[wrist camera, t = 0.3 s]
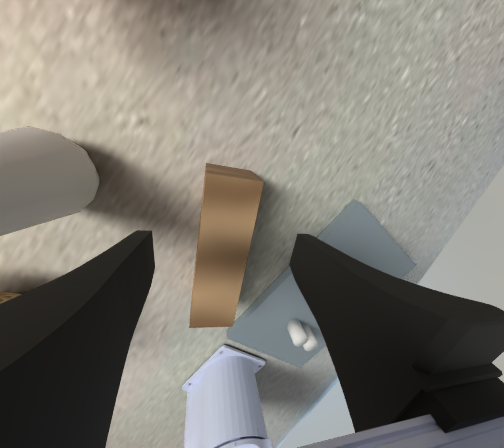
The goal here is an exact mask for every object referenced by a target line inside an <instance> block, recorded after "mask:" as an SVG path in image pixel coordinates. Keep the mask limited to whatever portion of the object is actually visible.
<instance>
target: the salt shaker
mask: <svg viewBox="0 0 504 448" xmlns="http://www.w3.org/2000/svg"><path fill="white" fill-rule="evenodd" d="M98 186H99V175H98V173H97V171H96V169H95V165H94V164H93V162H92V161H91V159H90V157H89V155H88V153H87V152H86V151H85V150H84V149H83V148H81V147H80V146H78V145H77V144H75V143H74V142H72V141H70V140H69V139H67V138H65V137H64V136H62V135H61V134H58V133H54V132H50V131H46V130H42V129H38V128H34V127H30V126H28V127H23V128H17V129H12V130H7V131H3V132H0V236H2V235H5V234H8V233H12V232H15V231H18V230H22V229H25V228H28V227H31V226H35V225H38V224H41V223H45V222H48V221H51V220H55V219H58V218H61V217H64V216H68V215H71V214H74V213H78V212H80V211H81V210H82V209H84V208H85V207H86V206H87V205H88V204H89V203H90V202H91V201H92V200H93V199H94V198H95V195H96V192H97V189H98Z"/></svg>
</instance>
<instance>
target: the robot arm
mask: <svg viewBox="0 0 504 448" xmlns="http://www.w3.org/2000/svg"><path fill="white" fill-rule="evenodd" d="M289 265H290V268H291V271H292V274H293V277H294V279H295V282H296V284H297V286H298V288H299V289H300V291H301V293H302V295H303V297H304V299H305V301H306V303H307V304H308V306H309V308H310V310H311V312H312V314H313V316H314V318H315V320H316V322H317V324H318V326H319V328H320V331H321V333H322V336H323V338H324V340H325V343H326V345H327V348H328V351H329V353H330V356H331V359H332V361H333V364H334V367H335V370H336V372H337V375H338V378H339V381H340V384H341V387H342V390H343V393H344V396H345V399H346V403H347V406H348V409H349V412H350V416H351V419H352V423H353V426H354V429H355V433H353V434H349V435H345V436H341V437H337V438H333V439H329V440H325V441H322V442H317V443H314V444H310V445H306V446H302V447H298V448H504V383H503V382H502V381H501V380H500V379H499V378H498V377H500V376H501V375H502V371H500V370H499V369H498V368H497V367H496V366H495V365H494V364H492V362H493V361H494V360H495V359H496V358H497V357H498V356H499V355H500V354H501V353H502V352H504V311H503V310H501V309H499V308H497V307H495V306H492V305H489V304H485V303H481V302H477V301H473V300H469V299H465V298H461V297H457V296H453V295H449V294H446V293H442V292H439V291H436V290H432V289H429V288H426V287H423V286H420V285H416V284H414V283H411V282H408V281H405V280H402V279H400V278H397V277H394V276H392V275H389V274H387V273H385V272H382V271H380V270H378V269H375V268H373V267H371V266H369V265H366V264H364V263H362V262H360V261H358V260H356V259H354V258H352V257H350V256H349V255H347V254H345V253H343V252H341V251H339V250H338V249H336V248H334V247H332V246H330V245H329V244H327V243H325V242H323V241H321V240H319V239H318V238H316V237H314V236H311V235H309V234H297V238H296V242H295V246H294V249H293V253H292V257H291V260H290V264H289ZM154 269H155V261H154V250H153V238H152V231H139V230H137V231H135V232H134V233H132V234H130V235H129V236H127V237H126V238H124V239H123V240H122V241H120V242H119V243H117V244H116V245H114V246H112V247H111V248H109V249H108V250H106V251H105V252H103V253H102V254H100V255H98V256H97V257H95V258H93V259H92V260H90V261H88V262H86V263H85V264H83V265H81V266H80V267H78V268H76V269H74V270H72V271H71V272H69V273H67V274H65V275H63V276H61V277H59V278H57V279H55V280H53V281H51V282H49V283H47V284H44V285H42V286H40V287H38V288H36V289H33V290H31V291H29V292H26V293H24V294H22V295H19V296H17V297H15V298H12V299H10V300H8V301H5V302H3V303H1V304H0V448H105V446H106V441H107V437H108V432H109V428H110V424H111V419H112V415H113V410H114V406H115V402H116V397H117V393H118V389H119V385H120V381H121V377H122V373H123V369H124V365H125V361H126V357H127V354H128V350H129V346H130V342H131V339H132V336H133V333H134V330H135V328H136V325H137V322H138V320H139V317H140V314H141V312H142V309H143V306H144V304H145V301H146V298H147V295H148V293H149V290H150V287H151V283H152V279H153V274H154ZM265 364H266V363H265V360H263V359H261V358H258V357H255V356H253V355H250V354H248V353H245V352H242V351H240V350H237V349H235V348H232V347H229V346H227V345H222V346H221V347H220V348H219V349H218V350H217V351H216V352H215V353H214V354H213V355H212V356H211V357H210V358H209V359H208V360H207V361H206V362H205V363H204V364H203V365H202V366H201V367H200V368H199V369H198V370H197V371H196V372H195V373H194V374H193V375H192V376H191V377H190V378H189V379H188V380H187V381H186V382H185V384H184V385H183V386H182V390H184V391H187V406H186V421H185V436H184V448H273V444H272V440H271V438H268V436H267V432H266V427H265V422H264V417H263V412H262V407H261V402H260V397H259V392H258V387H257V383H256V378H255V374H256V373H257V372H258V371H259V370H260V369H261V368H262V367H263V366H264V365H265Z"/></svg>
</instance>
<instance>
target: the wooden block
mask: <svg viewBox="0 0 504 448" xmlns="http://www.w3.org/2000/svg"><path fill="white" fill-rule="evenodd" d="M263 184H264V182H263V181H262V180H261V179H260V178H259V177H257V176H256V175H255V174H254V173H253V172H252V171H249V170H243V169H238V168H232V167H226V166H220V165H214V164H208V163H206V170H205V179H204V188H203V197H202V207H201V216H200V225H199V235H198V244H197V253H196V262H195V272H194V281H193V290H192V302H191V314H190V326H189V328H201V327H232V326H233V323H234V319H235V314H236V309H237V305H238V300H239V296H240V291H241V286H242V282H243V277H244V272H245V268H246V263H247V258H248V254H249V249H250V244H251V240H252V235H253V230H254V226H255V221H256V217H257V212H258V207H259V203H260V198H261V193H262V189H263Z"/></svg>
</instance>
